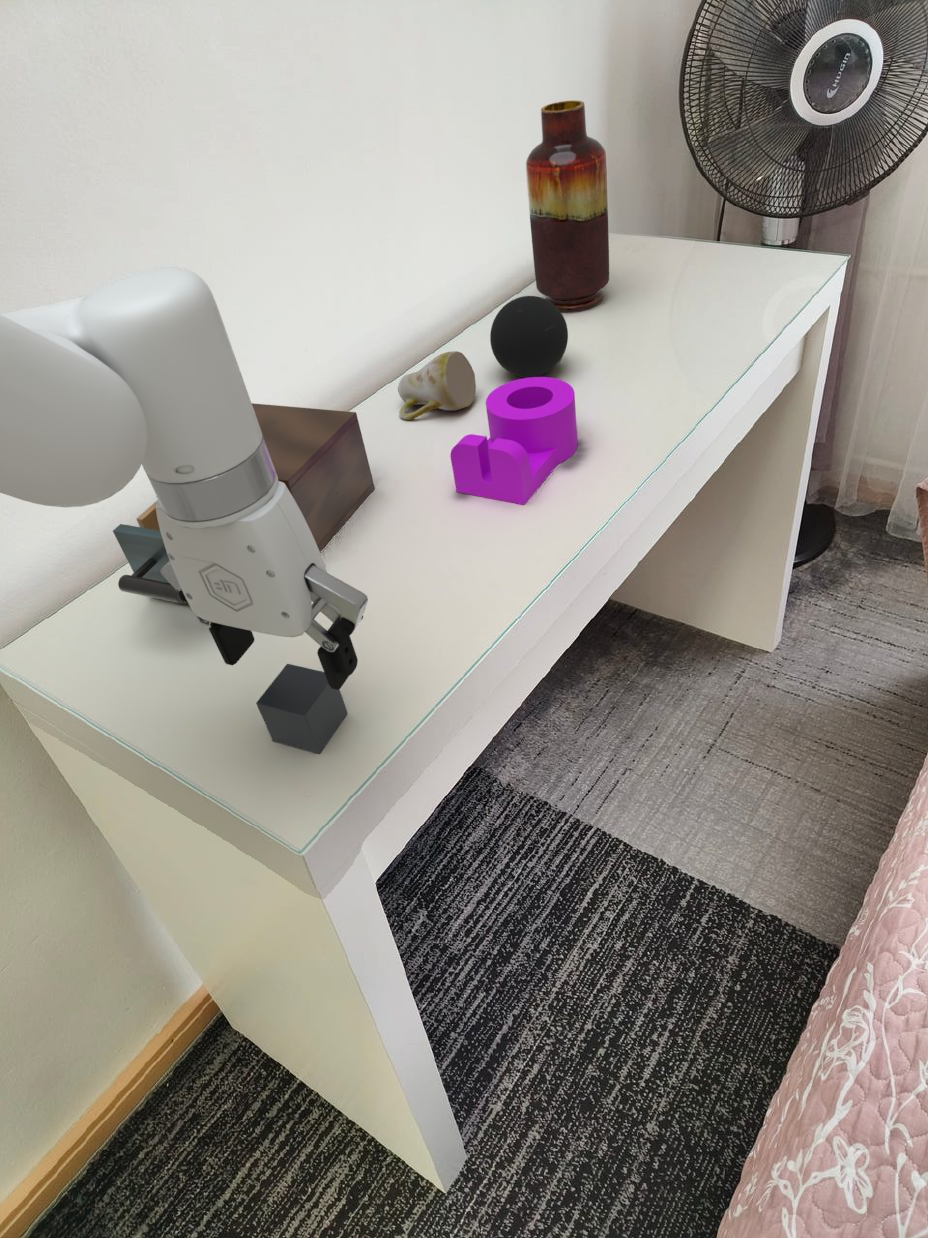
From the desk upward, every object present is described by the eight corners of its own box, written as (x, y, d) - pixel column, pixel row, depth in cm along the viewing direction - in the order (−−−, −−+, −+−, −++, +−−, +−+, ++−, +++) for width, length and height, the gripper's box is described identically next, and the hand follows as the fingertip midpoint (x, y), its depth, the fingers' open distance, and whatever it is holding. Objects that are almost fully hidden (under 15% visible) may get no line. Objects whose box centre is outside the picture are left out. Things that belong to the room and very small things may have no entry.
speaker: (504, 357, 118) (496, 284, 111) (576, 355, 115) (572, 281, 108) (486, 391, 111) (476, 316, 104) (562, 390, 108) (556, 313, 101)
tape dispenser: (516, 420, 103) (510, 372, 99) (591, 431, 99) (588, 382, 95) (450, 490, 94) (441, 440, 90) (530, 506, 89) (525, 454, 85)
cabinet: (313, 559, 88) (287, 480, 81) (202, 540, 93) (170, 465, 87) (375, 488, 96) (356, 411, 90) (270, 475, 102) (246, 402, 96)
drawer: (223, 646, 78) (193, 580, 73) (114, 621, 83) (80, 558, 78) (317, 538, 89) (297, 475, 84) (216, 523, 94) (192, 462, 89)
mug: (409, 391, 114) (436, 325, 108) (466, 432, 112) (496, 366, 106) (378, 404, 108) (404, 334, 102) (437, 447, 107) (467, 379, 100)
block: (319, 754, 67) (304, 715, 64) (272, 741, 69) (255, 703, 66) (348, 713, 70) (334, 674, 67) (302, 701, 72) (287, 663, 69)
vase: (542, 288, 134) (527, 100, 117) (612, 284, 132) (607, 91, 115) (532, 317, 127) (514, 120, 110) (607, 313, 124) (601, 110, 107)
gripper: (75, 494, 55) (175, 677, 66) (295, 526, 48) (364, 723, 59) (149, 435, 60) (230, 614, 71) (358, 456, 53) (411, 651, 64)
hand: (291, 664), depth 65 cm, fingers open, 9 cm apart
